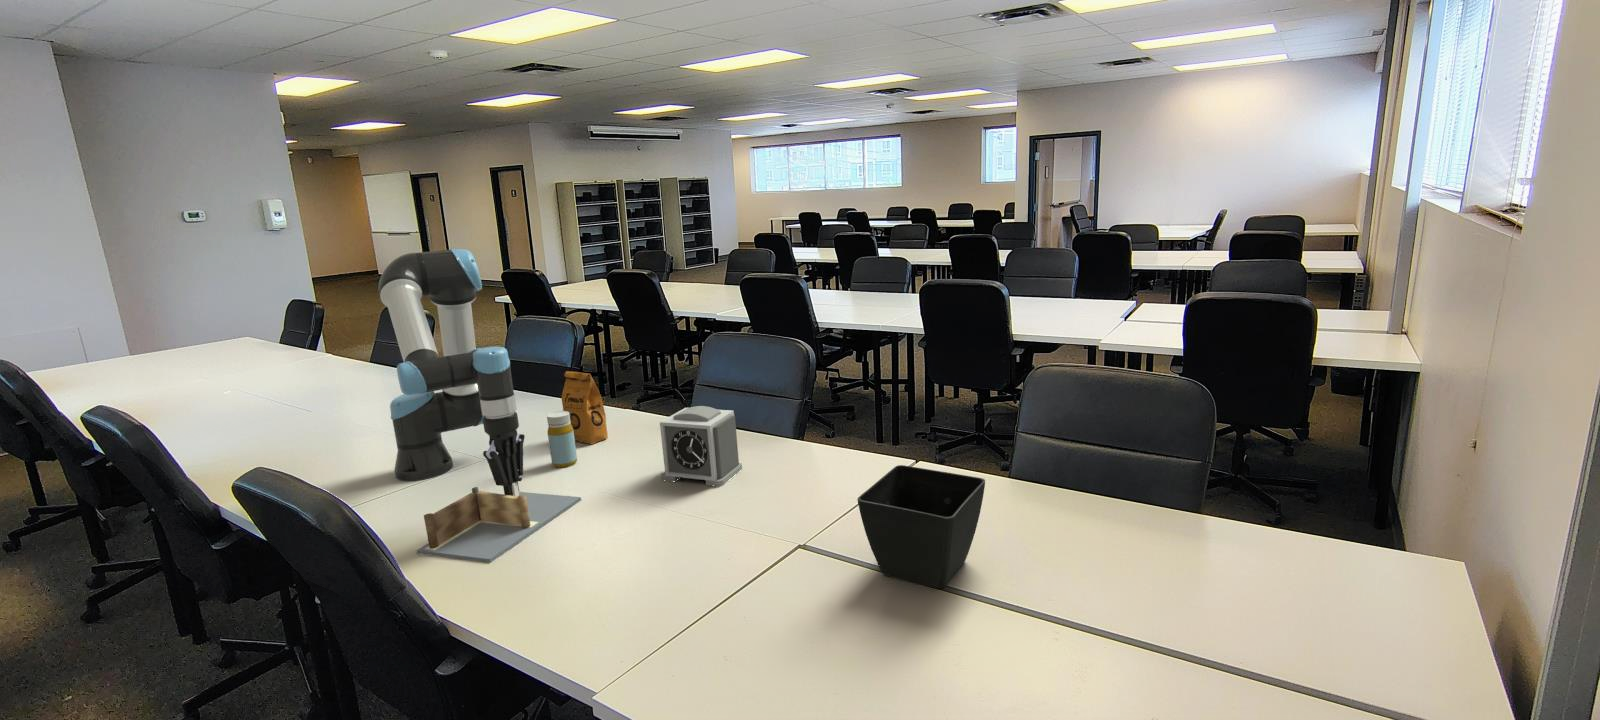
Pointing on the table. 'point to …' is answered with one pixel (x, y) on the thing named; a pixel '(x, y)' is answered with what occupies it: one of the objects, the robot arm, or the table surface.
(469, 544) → the board
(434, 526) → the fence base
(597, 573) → the table surface
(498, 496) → the panel
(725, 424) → the alarm clock
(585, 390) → the coffee package
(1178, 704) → the table surface
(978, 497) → the flower pot
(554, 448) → the bottle
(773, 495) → the table surface
